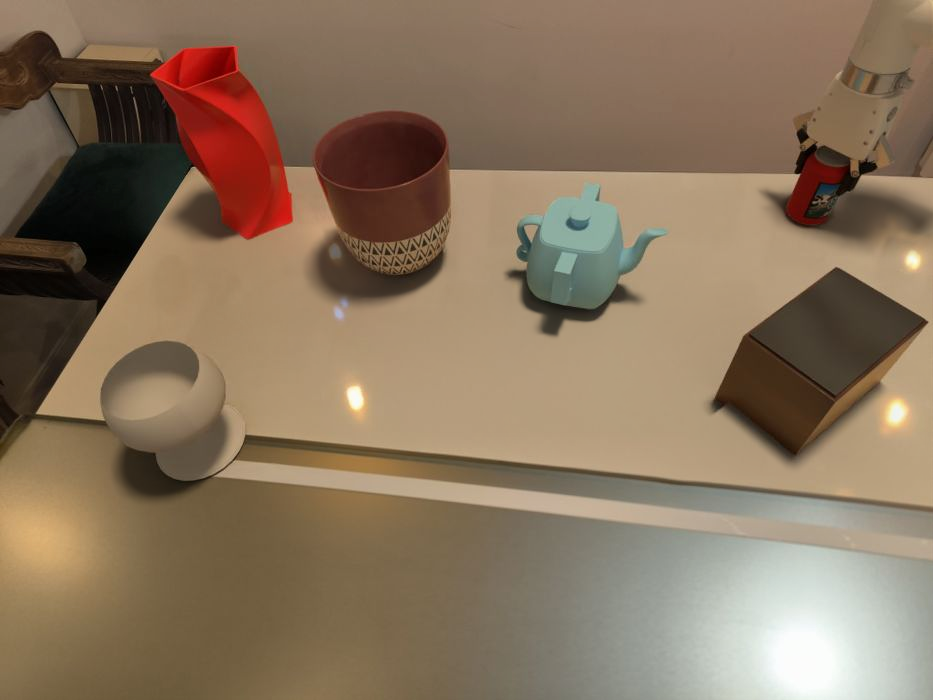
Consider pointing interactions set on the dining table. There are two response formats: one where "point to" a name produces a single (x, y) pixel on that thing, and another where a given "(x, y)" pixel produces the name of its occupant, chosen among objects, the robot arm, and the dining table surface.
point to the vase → (228, 137)
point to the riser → (817, 357)
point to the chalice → (173, 409)
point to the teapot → (579, 250)
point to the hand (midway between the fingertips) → (821, 180)
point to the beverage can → (818, 186)
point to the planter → (388, 188)
